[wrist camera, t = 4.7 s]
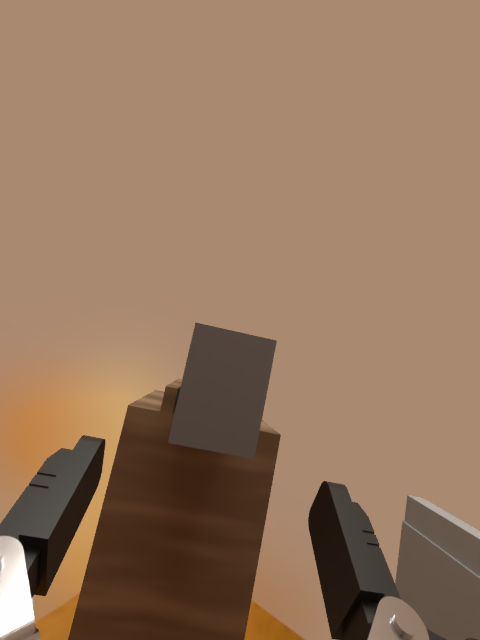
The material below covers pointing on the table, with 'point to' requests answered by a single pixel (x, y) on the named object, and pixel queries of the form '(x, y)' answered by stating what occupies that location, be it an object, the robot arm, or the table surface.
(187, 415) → the teal bar
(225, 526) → the walnut stand
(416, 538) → the grey stand
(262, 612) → the table surface
